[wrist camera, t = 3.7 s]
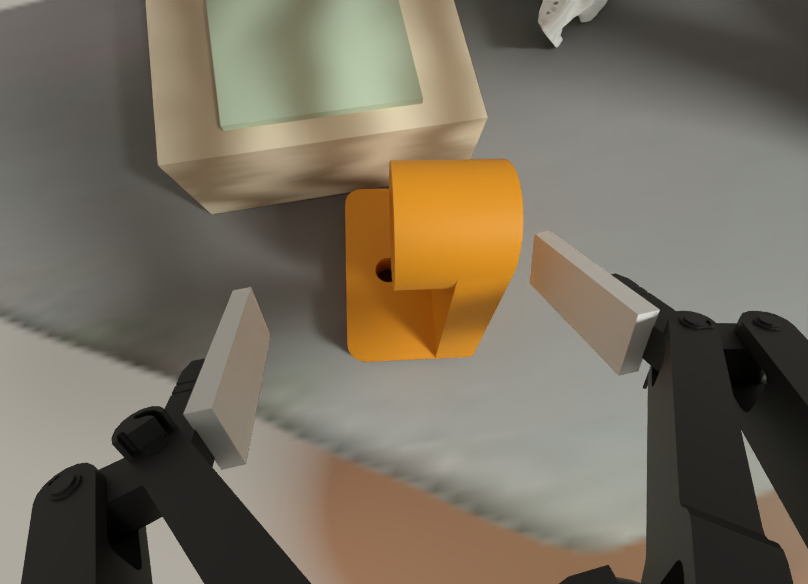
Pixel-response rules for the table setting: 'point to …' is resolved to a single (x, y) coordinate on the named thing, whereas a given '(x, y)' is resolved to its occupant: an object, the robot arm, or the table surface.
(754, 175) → the table surface
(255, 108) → the riser stand
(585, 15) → the white bone skull
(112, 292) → the table surface
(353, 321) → the bracket
